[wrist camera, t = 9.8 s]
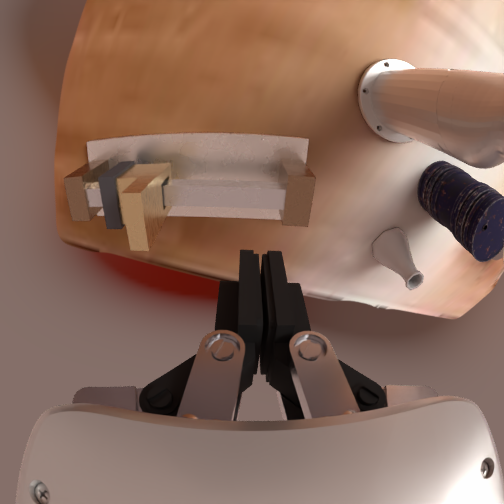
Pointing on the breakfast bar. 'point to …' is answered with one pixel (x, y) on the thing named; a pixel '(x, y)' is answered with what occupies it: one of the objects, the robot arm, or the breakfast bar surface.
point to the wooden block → (143, 202)
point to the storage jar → (464, 208)
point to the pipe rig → (207, 174)
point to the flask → (397, 256)
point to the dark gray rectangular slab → (112, 194)
